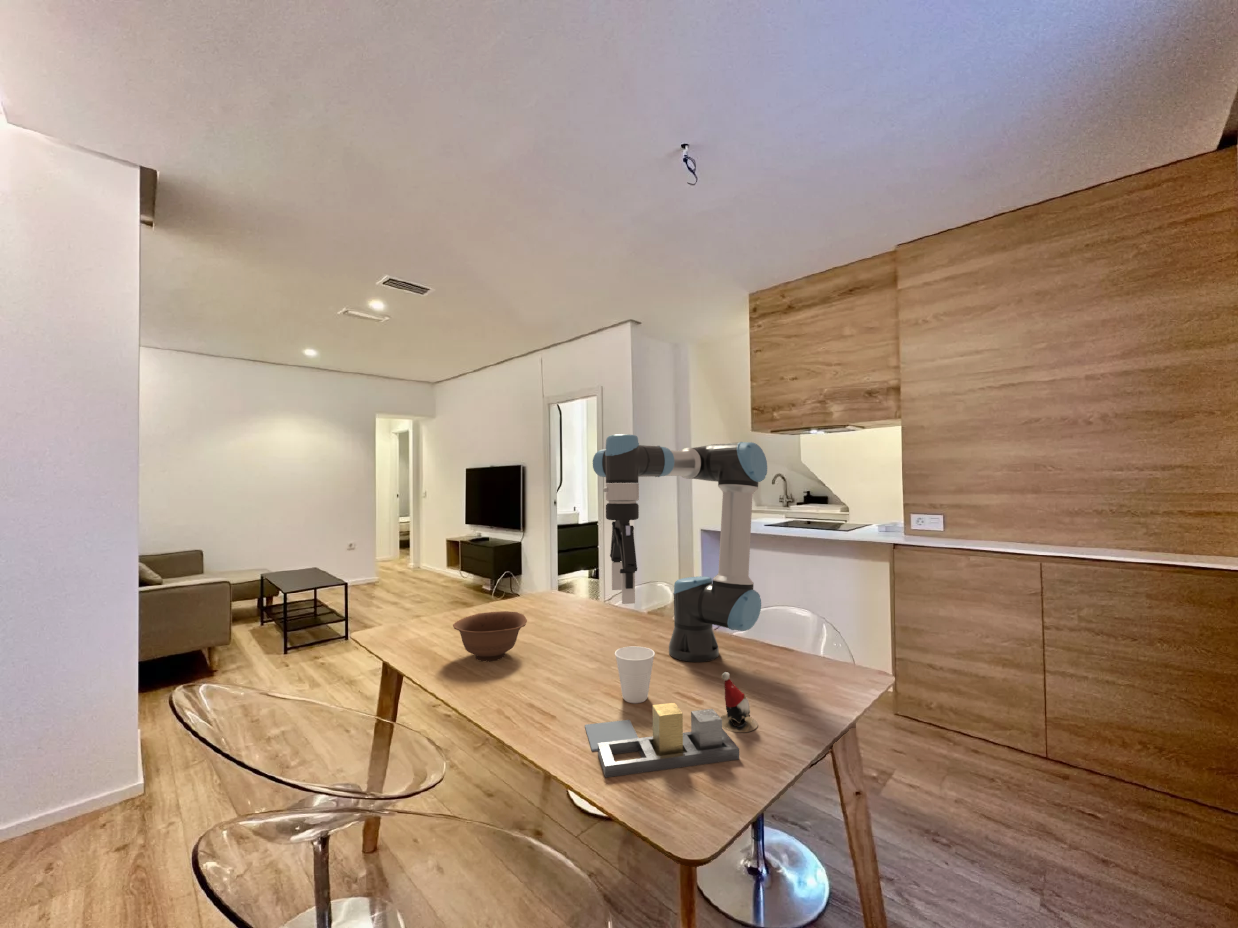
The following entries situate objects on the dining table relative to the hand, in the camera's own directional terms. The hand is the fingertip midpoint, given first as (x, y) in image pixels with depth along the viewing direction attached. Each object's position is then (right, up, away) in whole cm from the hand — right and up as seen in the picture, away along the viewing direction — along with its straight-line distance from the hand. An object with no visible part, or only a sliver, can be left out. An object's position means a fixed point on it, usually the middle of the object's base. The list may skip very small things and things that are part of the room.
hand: (622, 596), depth 111 cm
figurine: (+25, -27, -4) cm, 37 cm away
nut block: (+9, -26, -17) cm, 32 cm away
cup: (+3, -28, +9) cm, 29 cm away
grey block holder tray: (+9, -26, -17) cm, 32 cm away
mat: (-2, -27, -9) cm, 28 cm away
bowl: (-40, -29, +38) cm, 63 cm away
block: (+16, -26, -15) cm, 35 cm away
